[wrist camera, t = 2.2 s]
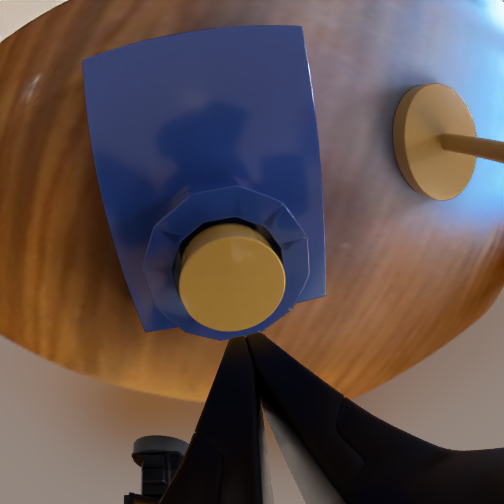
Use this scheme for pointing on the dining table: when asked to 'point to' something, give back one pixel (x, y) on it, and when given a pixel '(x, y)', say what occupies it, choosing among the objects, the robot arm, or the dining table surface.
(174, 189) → the switch base
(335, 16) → the dining table surface
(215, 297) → the lamp switch
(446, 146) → the table lamp
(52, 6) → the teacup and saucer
